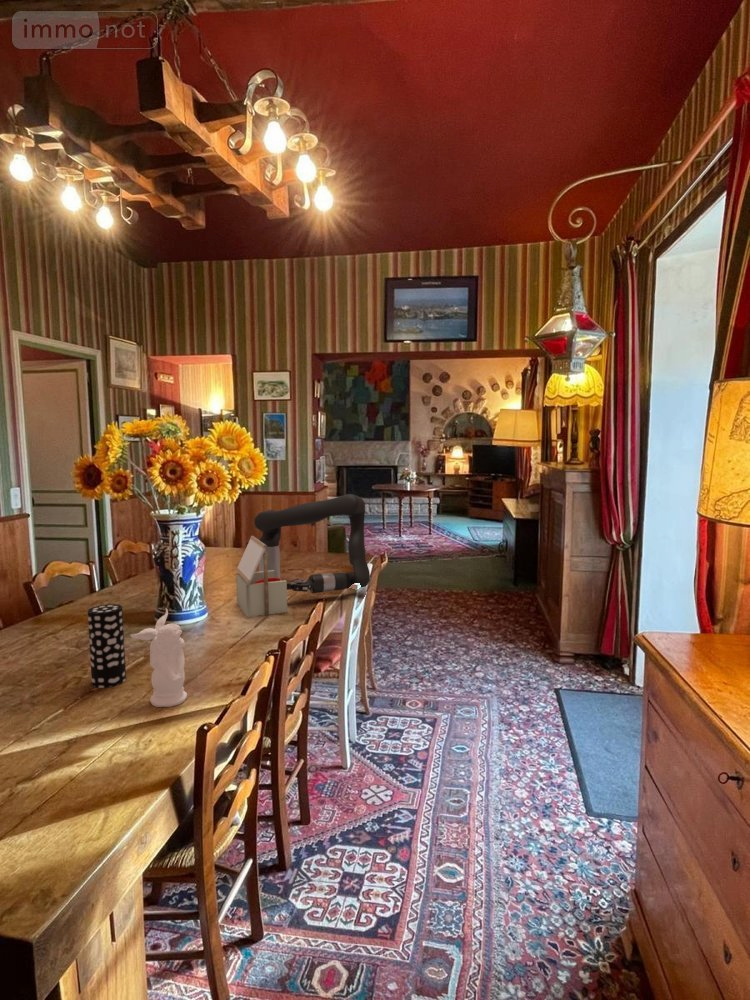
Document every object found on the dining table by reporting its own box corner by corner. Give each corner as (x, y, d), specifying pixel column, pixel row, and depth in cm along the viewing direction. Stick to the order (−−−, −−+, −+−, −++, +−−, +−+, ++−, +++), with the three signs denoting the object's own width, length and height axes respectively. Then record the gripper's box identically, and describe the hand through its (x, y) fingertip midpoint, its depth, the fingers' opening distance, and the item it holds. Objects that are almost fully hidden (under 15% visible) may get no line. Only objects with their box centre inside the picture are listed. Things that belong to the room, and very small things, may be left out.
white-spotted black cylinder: (102, 674, 154) (97, 604, 152) (131, 675, 154) (127, 604, 152) (85, 687, 146) (80, 613, 144) (116, 688, 145) (112, 613, 143)
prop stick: (264, 615, 207) (262, 552, 204) (268, 614, 207) (266, 552, 205) (265, 616, 205) (263, 553, 203) (269, 615, 206) (267, 553, 204)
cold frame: (237, 603, 222) (236, 573, 221) (274, 598, 229) (273, 570, 227) (247, 617, 204) (246, 585, 203) (287, 612, 210) (286, 581, 209)
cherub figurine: (186, 708, 135) (182, 619, 132) (130, 715, 131) (126, 624, 128) (188, 686, 146) (184, 604, 144) (137, 692, 143) (132, 609, 140)
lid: (238, 571, 223) (235, 570, 223) (253, 536, 224) (251, 535, 224) (250, 583, 202) (247, 583, 202) (267, 545, 203) (264, 544, 203)
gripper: (316, 570, 231) (275, 574, 224) (327, 577, 219) (284, 581, 212) (316, 588, 232) (275, 592, 225) (327, 595, 220) (284, 600, 213)
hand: (280, 587), depth 219 cm, fingers closed
